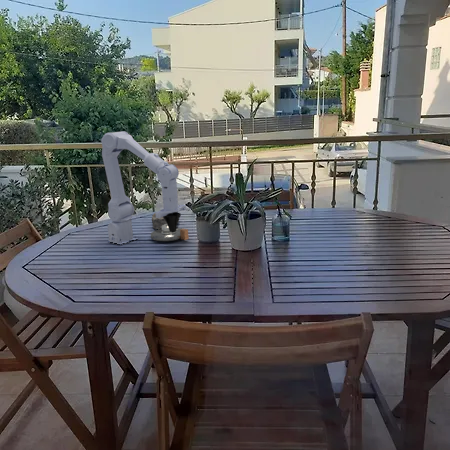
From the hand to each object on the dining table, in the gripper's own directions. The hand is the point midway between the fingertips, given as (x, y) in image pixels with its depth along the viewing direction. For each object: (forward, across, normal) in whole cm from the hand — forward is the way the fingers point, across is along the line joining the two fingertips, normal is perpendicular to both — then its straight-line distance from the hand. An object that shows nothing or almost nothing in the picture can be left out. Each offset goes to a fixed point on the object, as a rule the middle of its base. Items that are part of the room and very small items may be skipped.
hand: (173, 231), depth 155 cm
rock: (+6, +18, +24) cm, 31 cm away
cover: (+3, +6, +9) cm, 12 cm away
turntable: (+5, +6, +8) cm, 11 cm away
